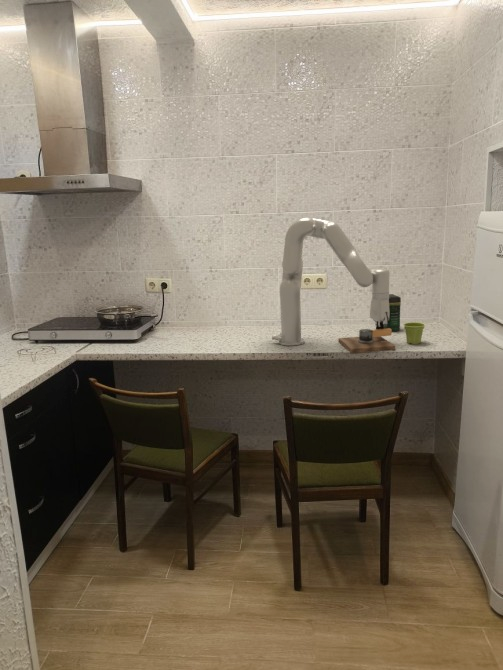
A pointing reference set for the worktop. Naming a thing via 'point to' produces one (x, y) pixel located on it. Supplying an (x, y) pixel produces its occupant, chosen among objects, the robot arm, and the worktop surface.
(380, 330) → the portafilter
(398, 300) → the coffee jar
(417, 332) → the plant pot
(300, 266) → the robot arm
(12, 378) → the worktop surface
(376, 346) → the wooden cutting board
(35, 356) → the worktop surface
